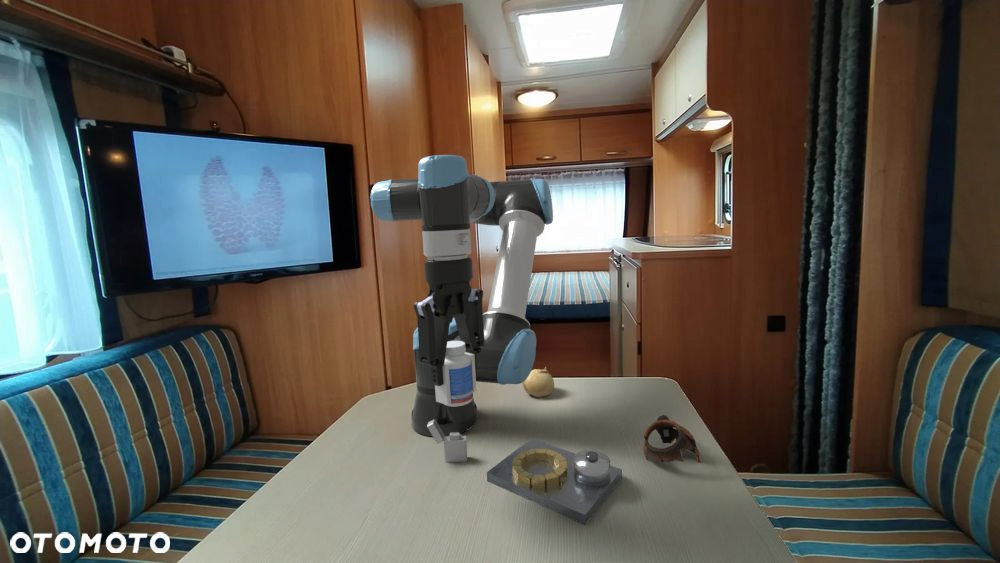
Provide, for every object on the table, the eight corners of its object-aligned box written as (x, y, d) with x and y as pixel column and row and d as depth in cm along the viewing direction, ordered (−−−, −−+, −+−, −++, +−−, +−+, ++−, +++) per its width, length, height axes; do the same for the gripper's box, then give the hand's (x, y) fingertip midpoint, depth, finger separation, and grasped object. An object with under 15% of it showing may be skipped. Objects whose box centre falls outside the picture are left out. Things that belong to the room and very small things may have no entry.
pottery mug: (713, 474, 76) (696, 443, 73) (662, 492, 78) (644, 463, 75) (687, 426, 87) (672, 397, 84) (643, 443, 89) (627, 415, 86)
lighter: (467, 456, 84) (465, 417, 83) (466, 461, 82) (464, 422, 81) (431, 457, 84) (428, 418, 83) (429, 462, 82) (426, 423, 81)
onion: (532, 403, 106) (531, 375, 105) (518, 392, 114) (516, 366, 112) (560, 396, 110) (559, 369, 109) (544, 385, 117) (543, 360, 116)
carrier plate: (487, 480, 76) (485, 452, 75) (531, 445, 87) (530, 420, 86) (585, 524, 64) (584, 491, 64) (622, 477, 75) (622, 449, 74)
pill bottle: (479, 396, 73) (476, 341, 72) (462, 409, 68) (458, 350, 67) (452, 391, 76) (449, 337, 74) (434, 404, 71) (430, 346, 69)
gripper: (419, 265, 59) (431, 424, 63) (502, 252, 73) (508, 382, 77) (385, 263, 64) (398, 411, 67) (469, 251, 78) (476, 374, 81)
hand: (456, 395), depth 72 cm, fingers closed on pill bottle, 5 cm apart
